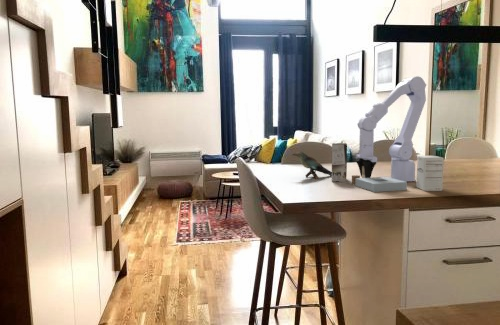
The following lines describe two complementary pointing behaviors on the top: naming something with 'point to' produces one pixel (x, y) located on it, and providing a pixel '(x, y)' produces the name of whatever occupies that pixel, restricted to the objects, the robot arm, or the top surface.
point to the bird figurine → (311, 164)
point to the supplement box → (430, 173)
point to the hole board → (381, 184)
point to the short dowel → (354, 178)
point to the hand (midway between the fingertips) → (365, 177)
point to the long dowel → (363, 172)
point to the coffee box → (339, 162)
